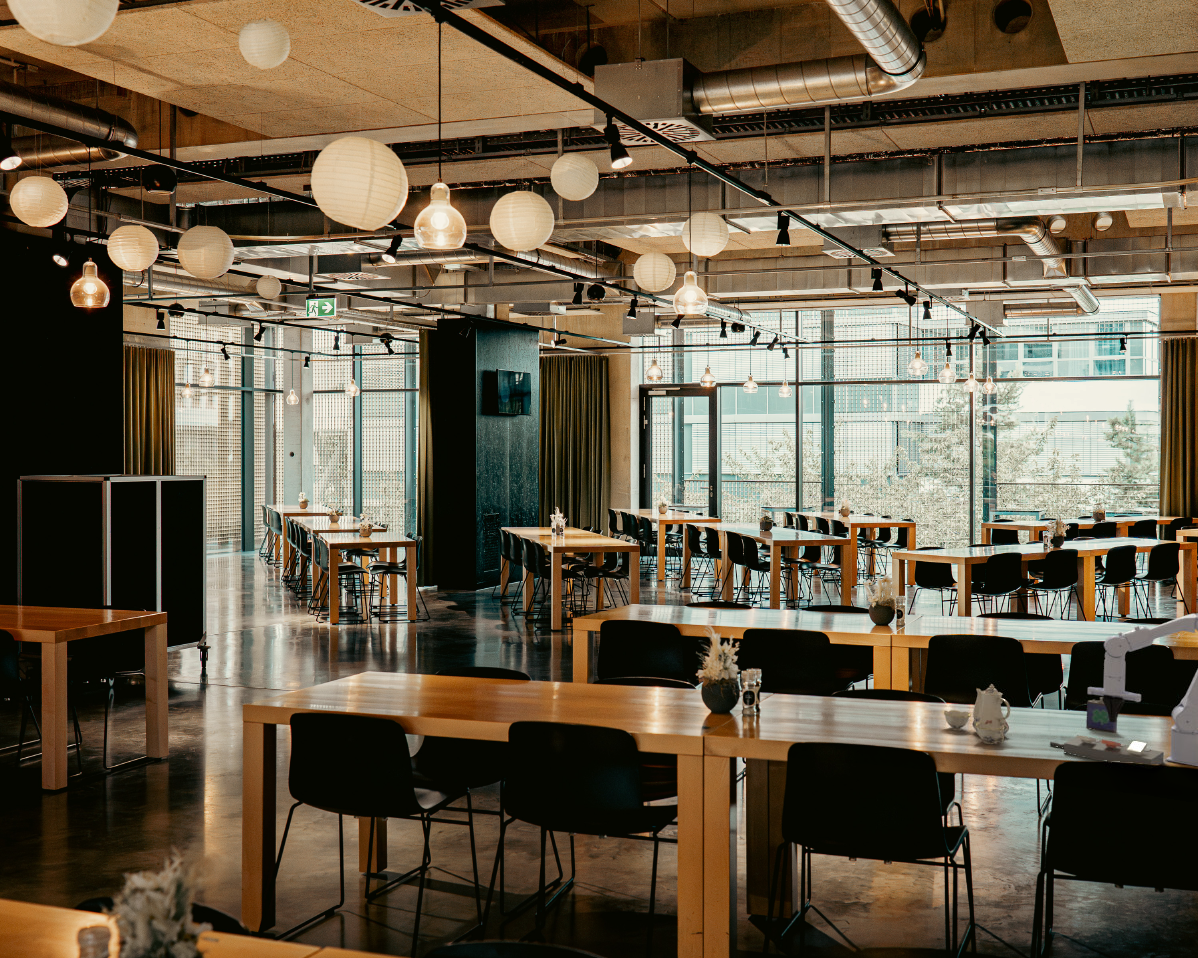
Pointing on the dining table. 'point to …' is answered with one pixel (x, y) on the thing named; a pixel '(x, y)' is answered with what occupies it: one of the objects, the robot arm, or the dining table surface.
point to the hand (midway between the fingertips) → (1113, 721)
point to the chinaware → (983, 716)
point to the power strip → (1110, 752)
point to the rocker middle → (1111, 743)
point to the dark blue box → (1099, 717)
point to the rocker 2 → (1136, 747)
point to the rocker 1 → (1086, 739)
